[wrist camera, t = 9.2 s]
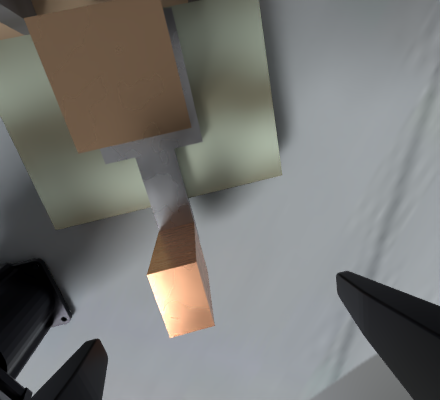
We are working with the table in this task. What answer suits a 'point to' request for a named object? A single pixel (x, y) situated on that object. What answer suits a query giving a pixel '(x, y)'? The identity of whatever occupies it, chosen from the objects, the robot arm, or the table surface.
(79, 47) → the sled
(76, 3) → the tunnel
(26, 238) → the table surface
